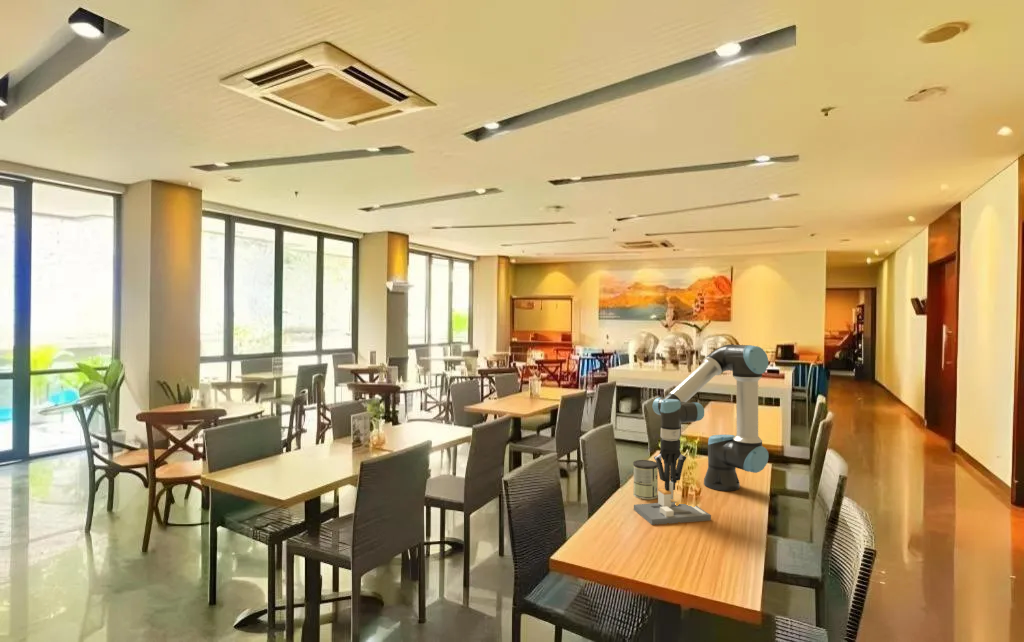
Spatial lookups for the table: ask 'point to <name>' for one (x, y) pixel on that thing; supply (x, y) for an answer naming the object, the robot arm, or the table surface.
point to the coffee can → (645, 479)
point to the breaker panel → (675, 518)
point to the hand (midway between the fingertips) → (669, 498)
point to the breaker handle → (664, 497)
